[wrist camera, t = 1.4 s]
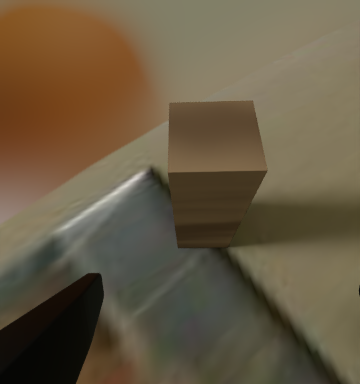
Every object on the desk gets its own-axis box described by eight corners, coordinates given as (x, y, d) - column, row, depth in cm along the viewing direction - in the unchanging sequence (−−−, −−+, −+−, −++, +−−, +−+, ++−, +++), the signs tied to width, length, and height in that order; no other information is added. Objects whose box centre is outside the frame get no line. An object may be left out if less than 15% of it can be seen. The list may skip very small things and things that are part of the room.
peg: (227, 247, 22) (267, 170, 11) (177, 247, 22) (167, 172, 11) (223, 202, 24) (252, 100, 13) (177, 203, 24) (169, 102, 13)
